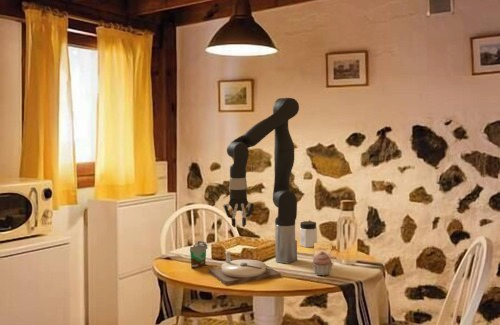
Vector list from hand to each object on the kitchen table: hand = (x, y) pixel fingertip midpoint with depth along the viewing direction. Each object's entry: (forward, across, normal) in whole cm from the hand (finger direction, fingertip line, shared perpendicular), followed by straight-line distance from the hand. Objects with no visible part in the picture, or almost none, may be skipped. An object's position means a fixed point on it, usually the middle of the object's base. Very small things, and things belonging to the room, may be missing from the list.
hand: (238, 226), depth 240 cm
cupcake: (+19, -32, +18) cm, 41 cm away
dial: (+18, 0, +8) cm, 20 cm away
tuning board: (+19, 0, +8) cm, 21 cm away
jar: (+19, -44, -32) cm, 57 cm away
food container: (+19, +16, -11) cm, 27 cm away
